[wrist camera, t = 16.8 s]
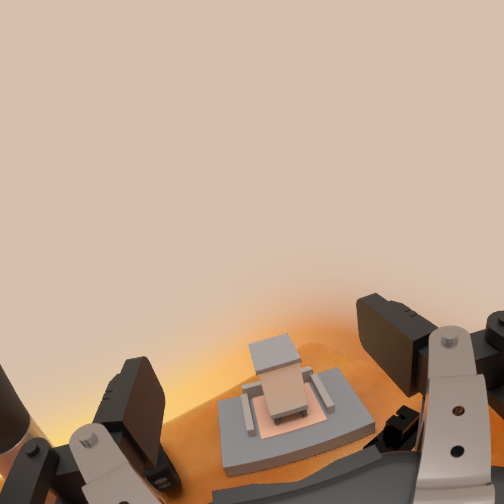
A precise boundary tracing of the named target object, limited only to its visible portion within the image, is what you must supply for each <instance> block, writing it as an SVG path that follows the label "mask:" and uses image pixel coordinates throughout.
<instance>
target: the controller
mask: <svg viewBox="0 0 504 504" xmlns="http://www.w3.org/2000/svg"><path fill="white" fill-rule="evenodd" d="M143 476H144V477H145V478H146V479H147V480H148V482H149V483H150V484H151V485H152V486H153V487H154V488H156V489H157V490H158V491H161V492H166V491H169V490H172V489H174V488H176V487H178V486H179V485H180V478H179V476H178V474H177V472H176V470H175V468H174V466H173V465H172V463H171V461H170V460H169V458H168V456H167V455H166V453H165V451H164V450H163V447H162V445H161V443H159V451H158V459H157V467H156V468H148V469H144V473H143Z"/></svg>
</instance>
